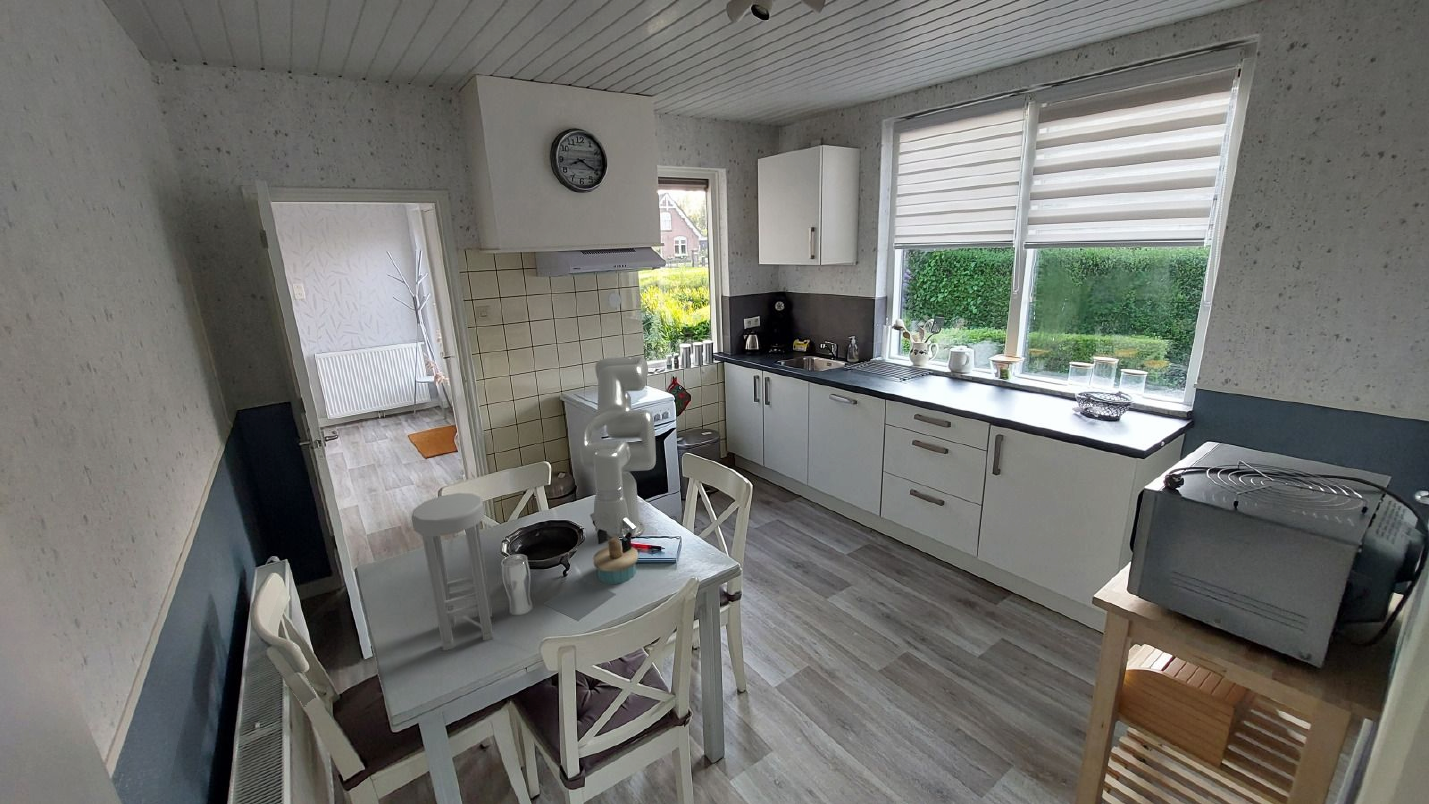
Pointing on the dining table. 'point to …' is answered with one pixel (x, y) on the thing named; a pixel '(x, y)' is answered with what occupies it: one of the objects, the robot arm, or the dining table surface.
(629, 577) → the bowl
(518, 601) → the beer glass
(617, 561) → the lid
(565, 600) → the mat
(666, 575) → the dining table surface
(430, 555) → the stool
